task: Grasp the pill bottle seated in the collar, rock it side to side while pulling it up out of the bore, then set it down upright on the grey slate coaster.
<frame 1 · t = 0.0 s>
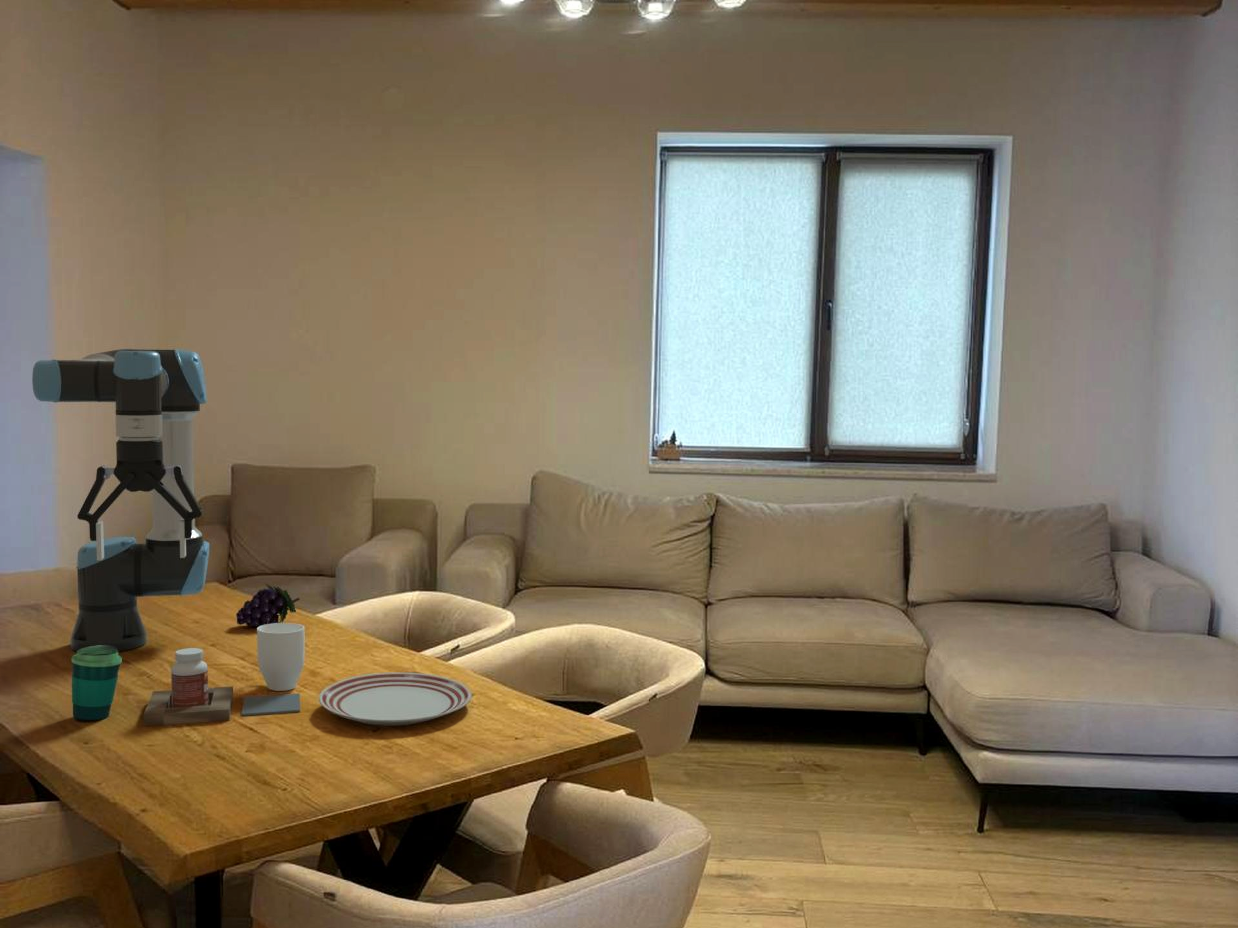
hand: (142, 557, 197), 28 cm above the table, fingers open, 13 cm apart
coaster: (271, 705, 204), on the table
pill bottle: (190, 711, 200), resting in collar
mug: (278, 686, 216), on the table
fruit: (268, 626, 263), on the table
cup: (98, 717, 196), on the table
collar: (190, 710, 200), on the table
dinner plate: (396, 711, 203), on the table
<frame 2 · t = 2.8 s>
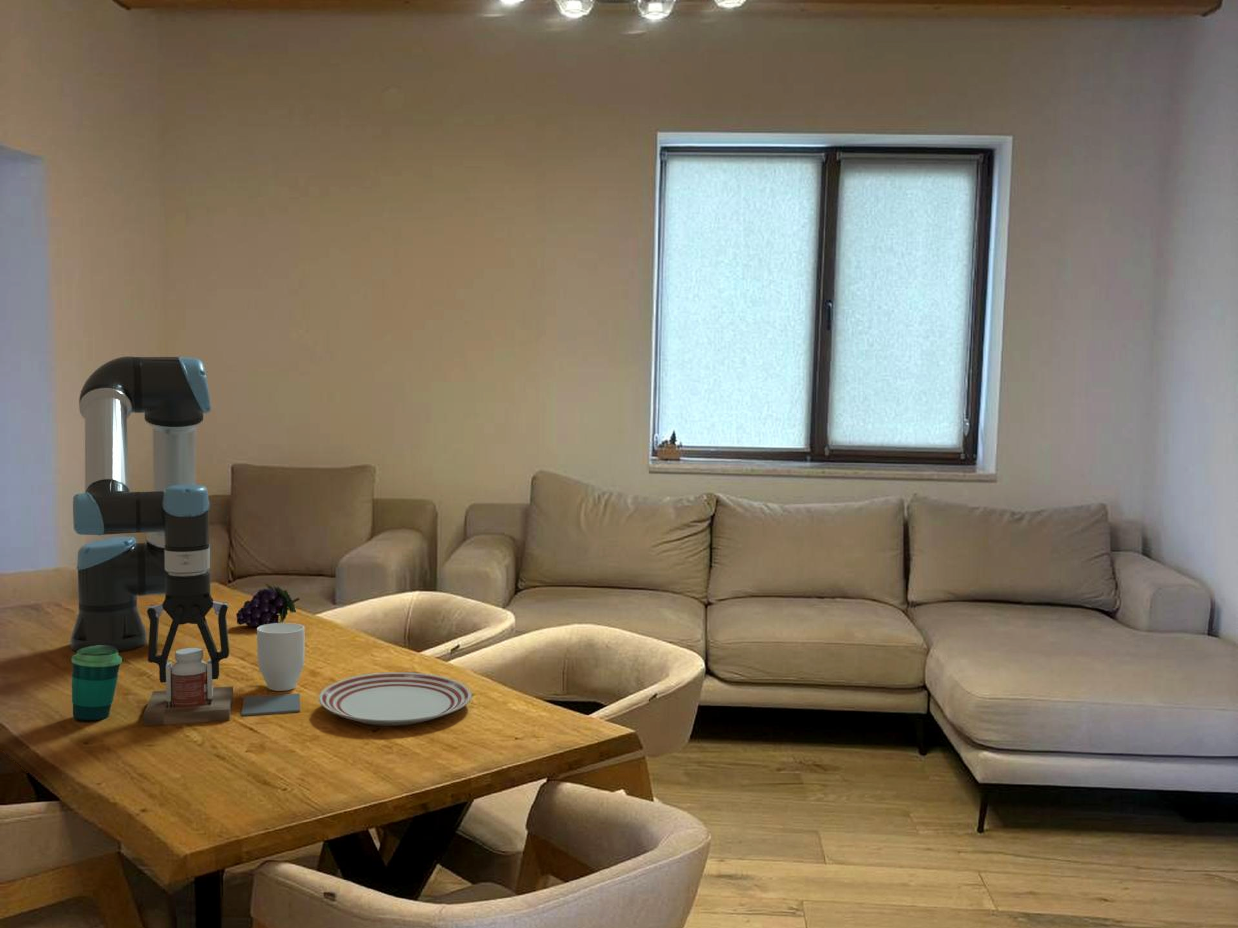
hand: (190, 697, 200), 2 cm above the table, fingers closed on pill bottle, 6 cm apart
pill bottle: (190, 711, 200), resting in collar, touching gripper
everything else where it was.
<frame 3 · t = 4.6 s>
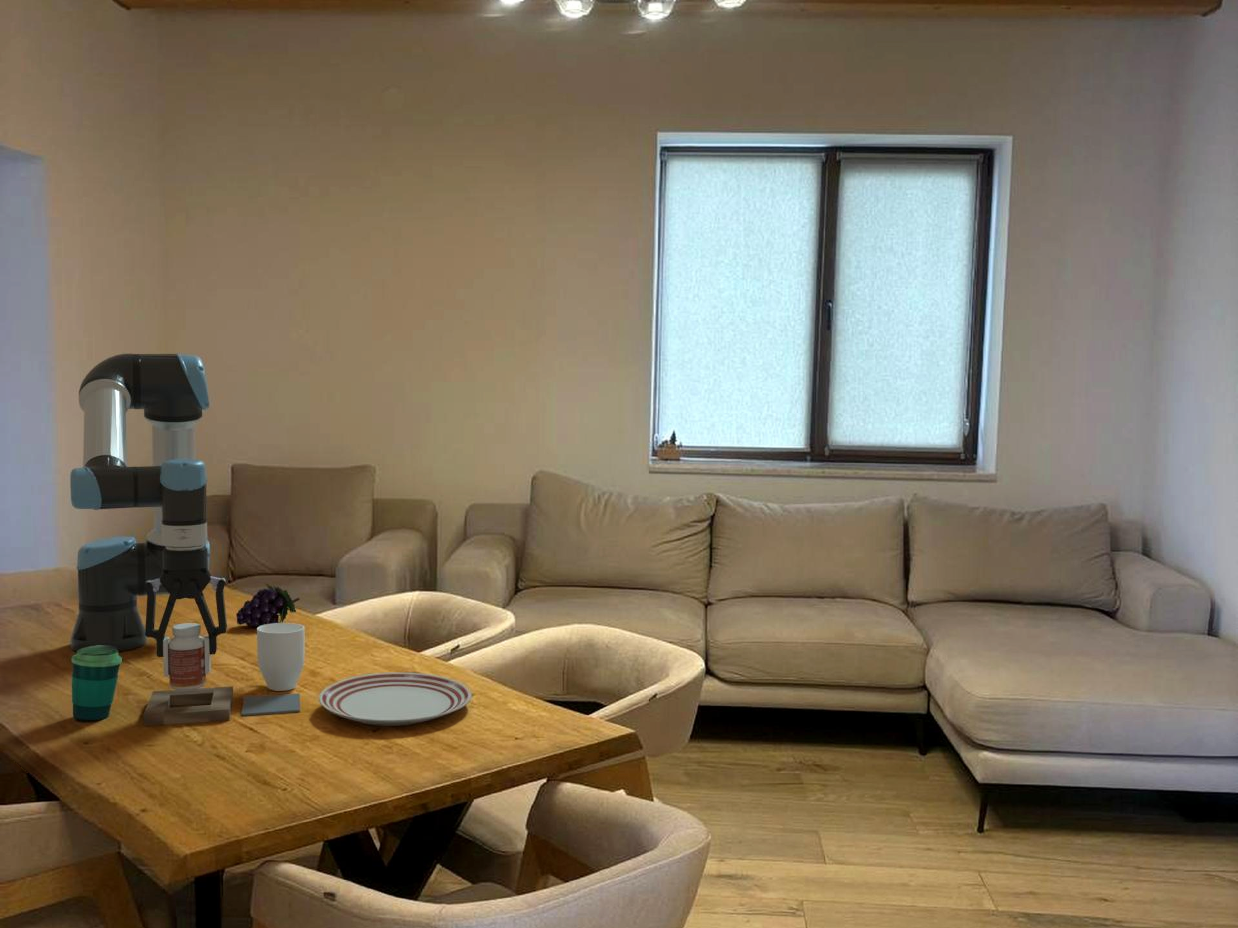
hand: (187, 672, 199), 7 cm above the table, fingers closed on pill bottle, 6 cm apart
pill bottle: (187, 687, 200), point 4 cm above the table, touching gripper
everything else where it was.
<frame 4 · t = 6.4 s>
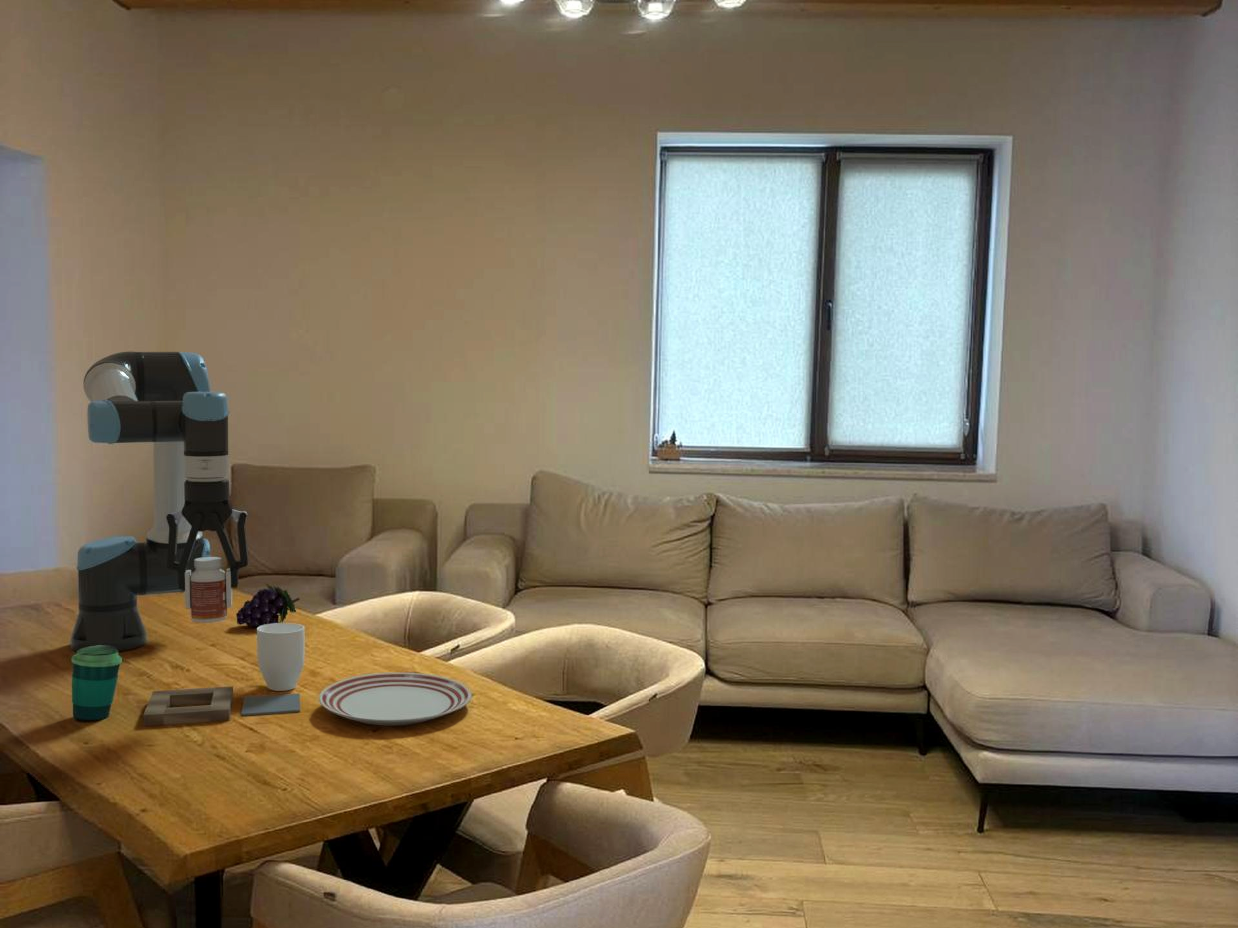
hand: (209, 606, 199), 19 cm above the table, fingers closed on pill bottle, 6 cm apart
pill bottle: (209, 620, 199), point 16 cm above the table, touching gripper
everything else where it was.
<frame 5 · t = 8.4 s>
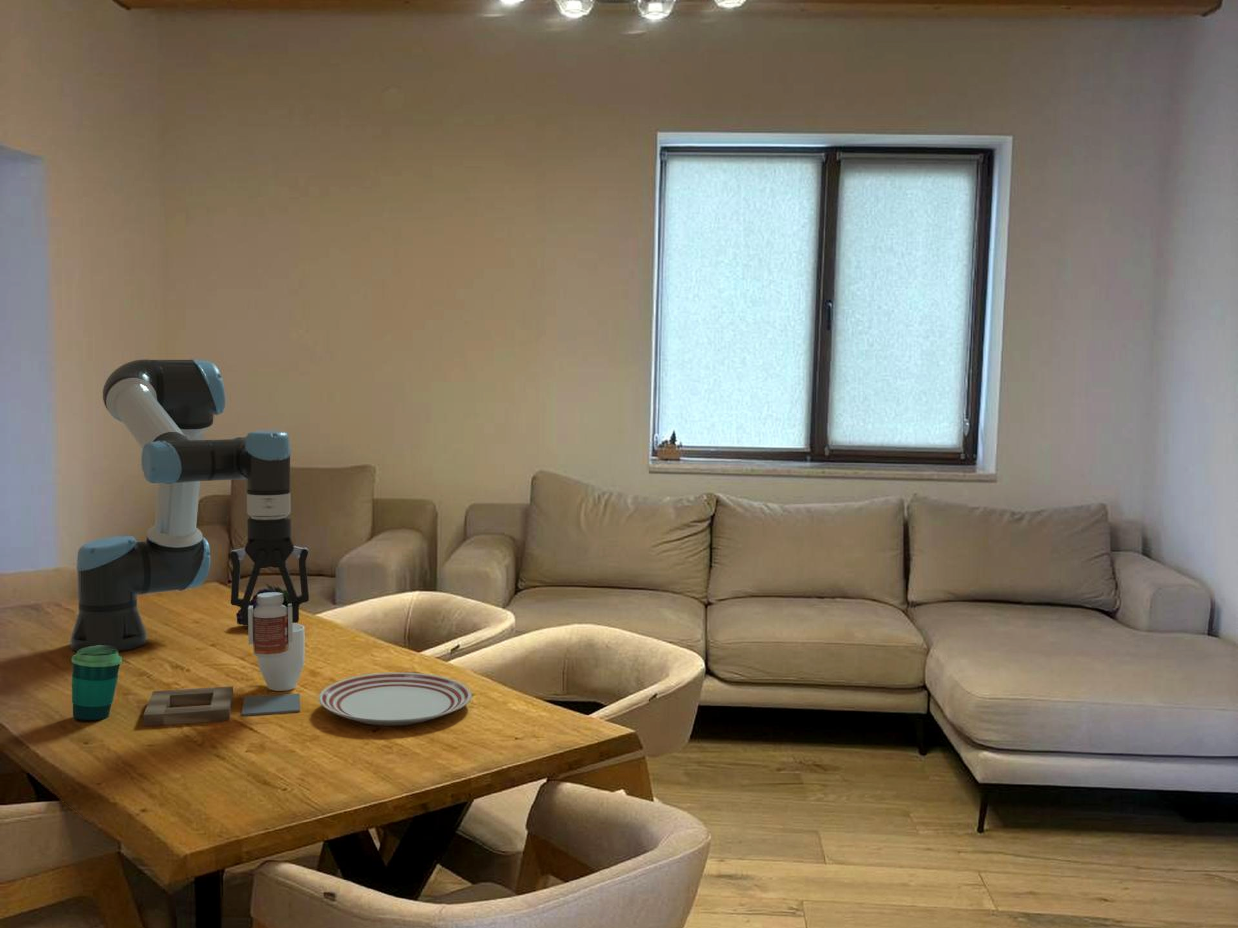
hand: (270, 640, 203), 12 cm above the table, fingers closed on pill bottle, 6 cm apart
pill bottle: (271, 655, 203), point 10 cm above the table, touching gripper
everything else where it was.
when the fingers open (4 cm above the table, at t = 10.1 s): pill bottle drops 1 cm, resting on coaster.
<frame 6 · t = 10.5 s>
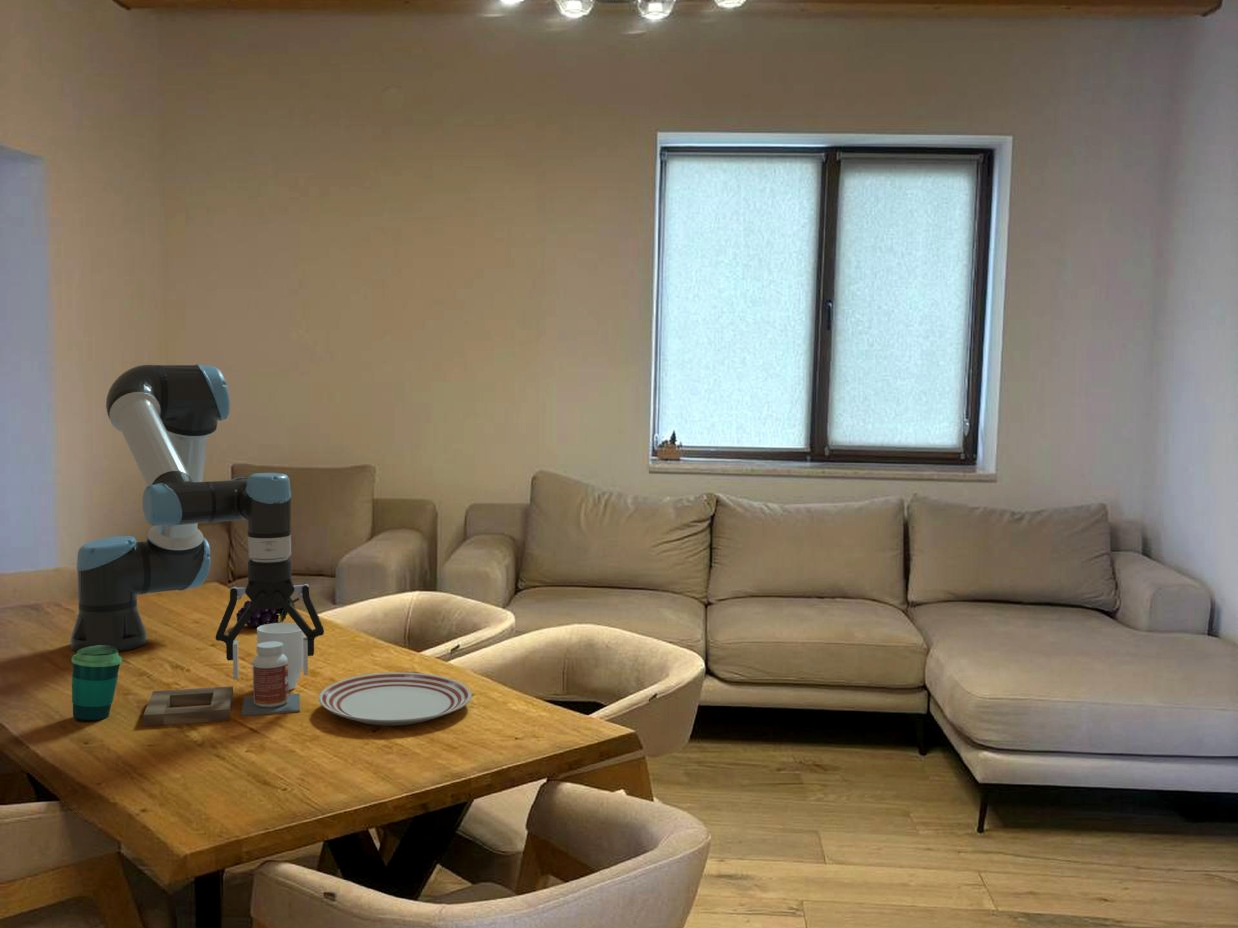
hand: (271, 675, 203), 6 cm above the table, fingers open, 11 cm apart
pill bottle: (271, 704, 204), resting on coaster
everything else where it was.
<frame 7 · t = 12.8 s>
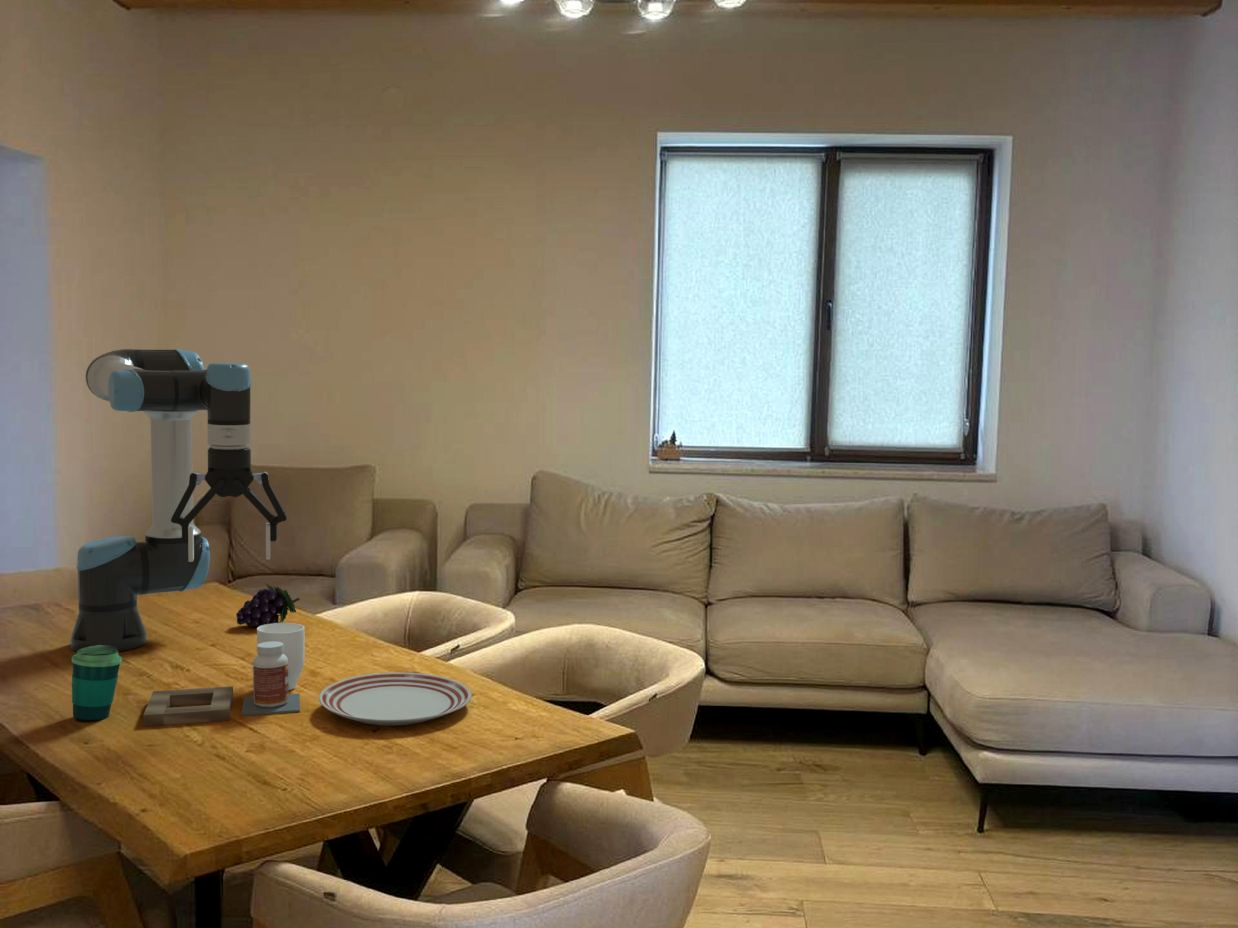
hand: (230, 559, 207), 26 cm above the table, fingers open, 13 cm apart
nothing on the table moved.
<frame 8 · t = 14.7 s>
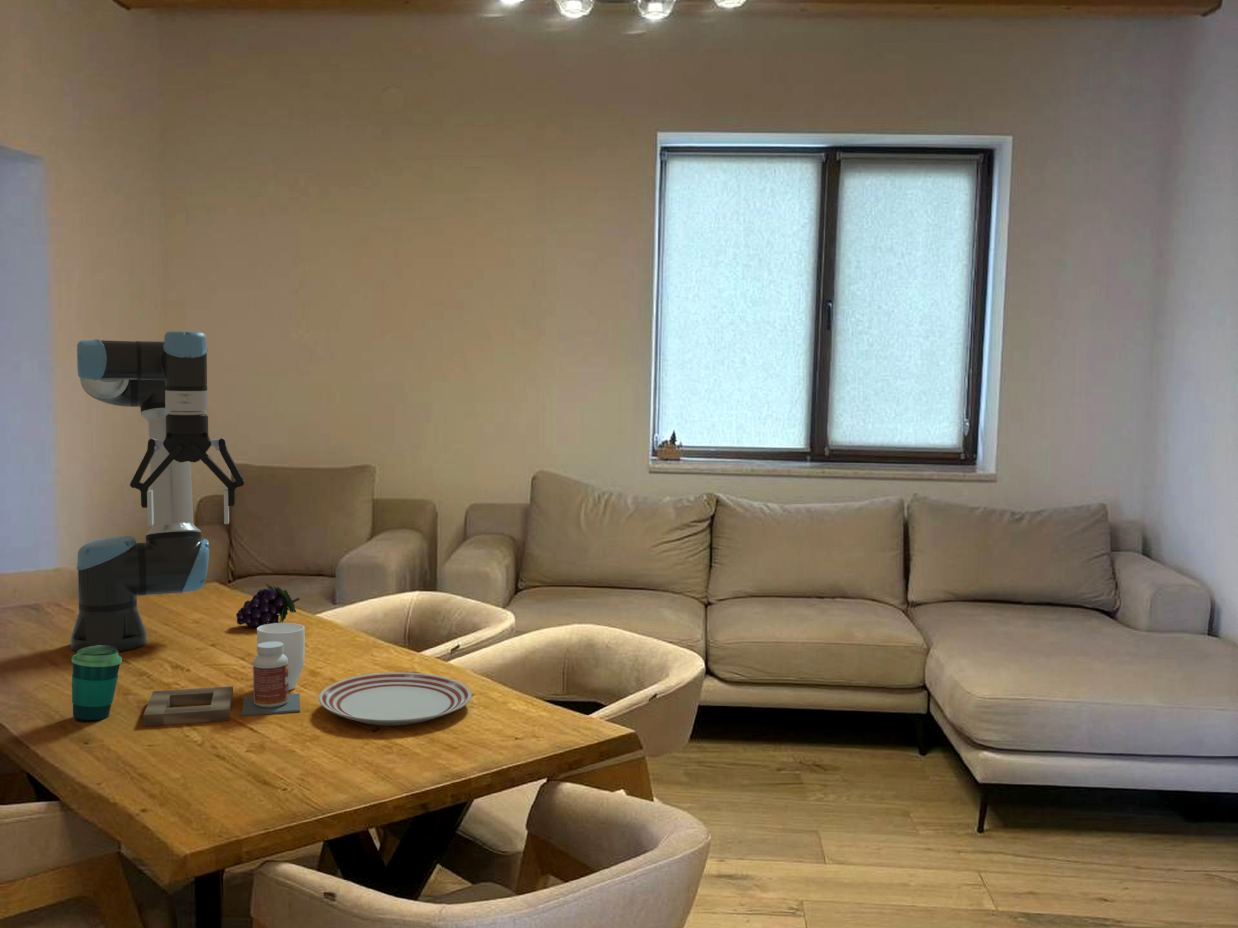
hand: (189, 524, 212), 32 cm above the table, fingers open, 13 cm apart
nothing on the table moved.
at the end: pill bottle 0.0 cm from the coaster (horizontally); pill bottle tilted 0°; pill bottle resting on coaster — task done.
